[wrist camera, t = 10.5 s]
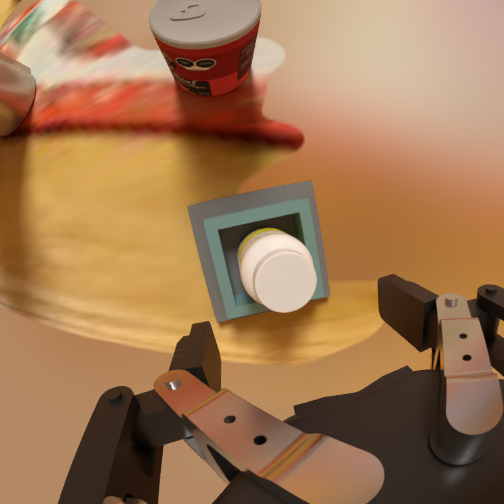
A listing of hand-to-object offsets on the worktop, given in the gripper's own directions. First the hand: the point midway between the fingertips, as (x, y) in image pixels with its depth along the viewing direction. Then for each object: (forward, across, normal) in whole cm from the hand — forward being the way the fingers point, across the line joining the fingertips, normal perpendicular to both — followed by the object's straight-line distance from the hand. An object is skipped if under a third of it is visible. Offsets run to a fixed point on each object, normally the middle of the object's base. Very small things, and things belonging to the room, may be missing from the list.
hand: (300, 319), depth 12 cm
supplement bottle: (+15, 0, 0) cm, 15 cm away
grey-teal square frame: (+16, 0, 0) cm, 16 cm away
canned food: (+16, +1, -20) cm, 26 cm away
